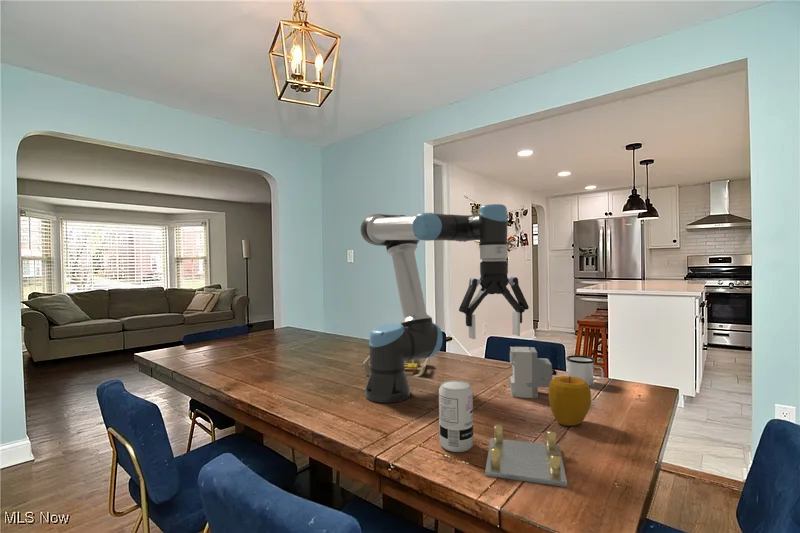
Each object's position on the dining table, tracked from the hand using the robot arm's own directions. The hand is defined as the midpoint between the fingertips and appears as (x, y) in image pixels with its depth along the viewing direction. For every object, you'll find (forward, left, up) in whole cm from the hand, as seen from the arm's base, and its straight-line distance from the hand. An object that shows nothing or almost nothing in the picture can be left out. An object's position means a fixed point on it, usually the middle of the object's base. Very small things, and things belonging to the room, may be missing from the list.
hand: (494, 336), depth 111 cm
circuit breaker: (+11, +26, -24) cm, 37 cm away
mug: (+29, +42, -24) cm, 56 cm away
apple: (+20, +4, -24) cm, 31 cm away
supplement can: (-8, -17, -24) cm, 31 cm away
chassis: (+8, -21, -24) cm, 33 cm away
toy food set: (-42, +43, -25) cm, 65 cm away
